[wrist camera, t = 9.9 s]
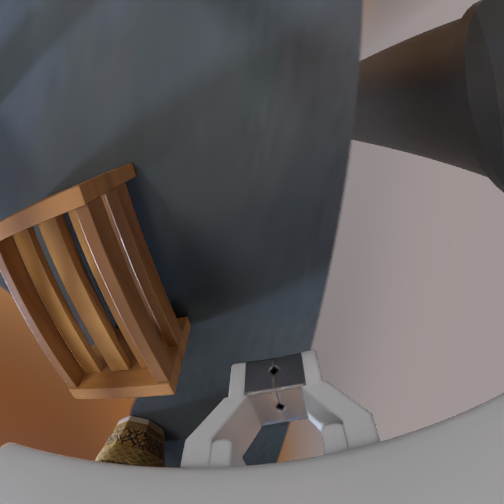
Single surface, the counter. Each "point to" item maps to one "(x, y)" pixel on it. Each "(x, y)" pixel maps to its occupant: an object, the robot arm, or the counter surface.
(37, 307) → the slatted rack
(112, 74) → the counter surface
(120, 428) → the ceramic cup
